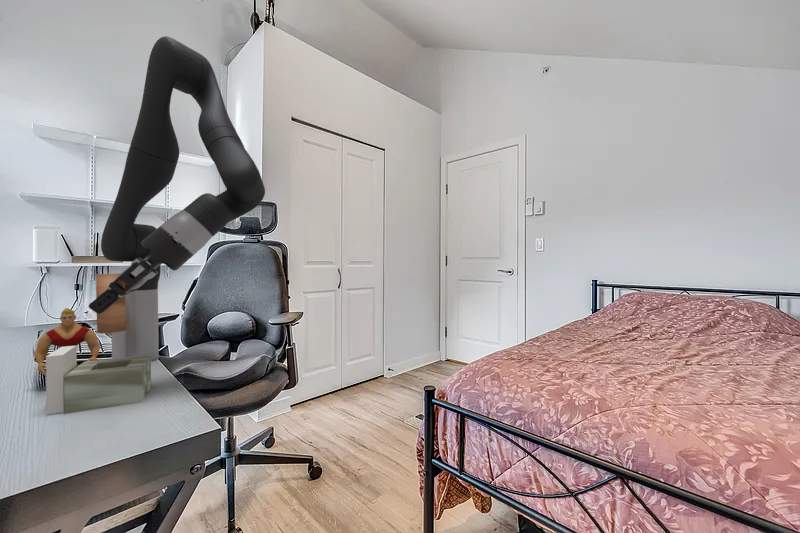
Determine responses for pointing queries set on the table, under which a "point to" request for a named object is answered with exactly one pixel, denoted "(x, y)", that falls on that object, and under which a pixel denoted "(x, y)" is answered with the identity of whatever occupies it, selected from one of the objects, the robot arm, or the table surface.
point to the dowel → (110, 307)
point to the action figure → (66, 338)
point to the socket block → (107, 383)
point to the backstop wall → (58, 377)
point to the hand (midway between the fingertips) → (97, 308)
